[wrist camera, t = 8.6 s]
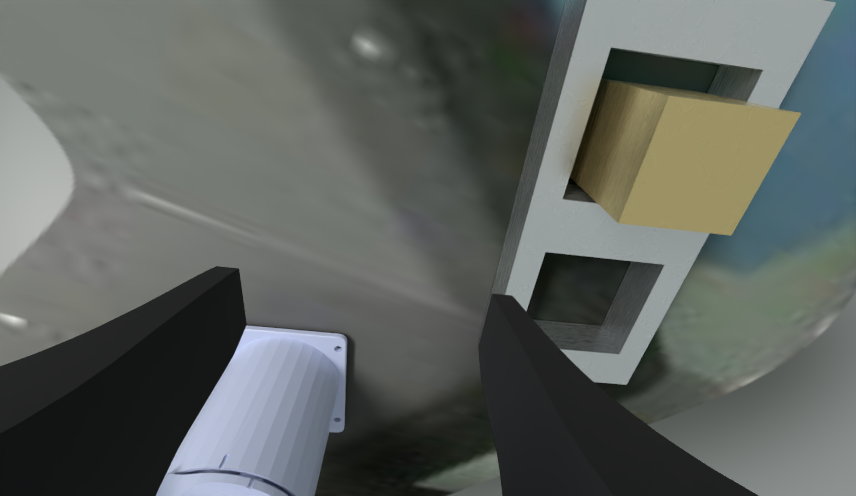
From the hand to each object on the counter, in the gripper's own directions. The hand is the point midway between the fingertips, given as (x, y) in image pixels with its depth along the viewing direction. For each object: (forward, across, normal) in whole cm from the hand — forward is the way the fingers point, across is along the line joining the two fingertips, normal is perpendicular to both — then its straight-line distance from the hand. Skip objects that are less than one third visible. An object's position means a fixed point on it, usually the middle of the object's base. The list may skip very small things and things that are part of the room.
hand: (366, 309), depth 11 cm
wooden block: (+10, -11, -4) cm, 15 cm away
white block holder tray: (+10, -11, 0) cm, 15 cm away
